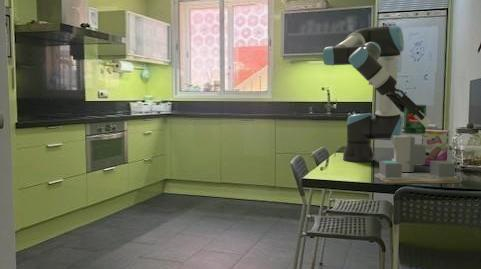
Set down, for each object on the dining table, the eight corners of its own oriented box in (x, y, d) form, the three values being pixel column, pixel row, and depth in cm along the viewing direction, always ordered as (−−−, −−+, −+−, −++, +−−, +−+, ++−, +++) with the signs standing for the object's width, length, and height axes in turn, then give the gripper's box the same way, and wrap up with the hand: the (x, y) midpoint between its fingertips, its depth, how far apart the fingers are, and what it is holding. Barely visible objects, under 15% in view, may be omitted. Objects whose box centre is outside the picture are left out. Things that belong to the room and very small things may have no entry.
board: (374, 176, 188) (374, 174, 188) (444, 176, 188) (444, 173, 188) (385, 183, 174) (385, 180, 174) (460, 182, 174) (460, 180, 174)
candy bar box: (420, 165, 217) (421, 130, 216) (423, 164, 222) (424, 129, 220) (446, 167, 211) (448, 131, 210) (448, 166, 215) (450, 130, 214)
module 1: (379, 173, 185) (379, 160, 185) (394, 173, 185) (394, 160, 185) (385, 177, 177) (385, 163, 177) (401, 177, 177) (401, 163, 177)
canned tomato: (411, 134, 175) (412, 105, 174) (399, 133, 183) (400, 104, 182) (430, 134, 177) (431, 104, 176) (416, 132, 185) (417, 104, 184)
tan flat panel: (375, 175, 186) (375, 173, 186) (446, 174, 186) (446, 172, 186) (383, 179, 176) (383, 177, 176) (458, 179, 176) (458, 177, 176)
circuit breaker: (429, 173, 196) (430, 137, 195) (393, 172, 199) (394, 136, 198) (425, 170, 204) (426, 135, 202) (391, 169, 206) (392, 135, 205)
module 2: (429, 173, 185) (430, 160, 185) (445, 173, 185) (445, 160, 185) (438, 176, 177) (438, 163, 177) (454, 176, 177) (454, 163, 177)
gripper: (368, 89, 189) (407, 129, 190) (383, 88, 168) (427, 133, 169) (381, 75, 188) (420, 115, 190) (398, 73, 168) (442, 118, 169)
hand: (423, 124), depth 179 cm, fingers closed on canned tomato, 8 cm apart
